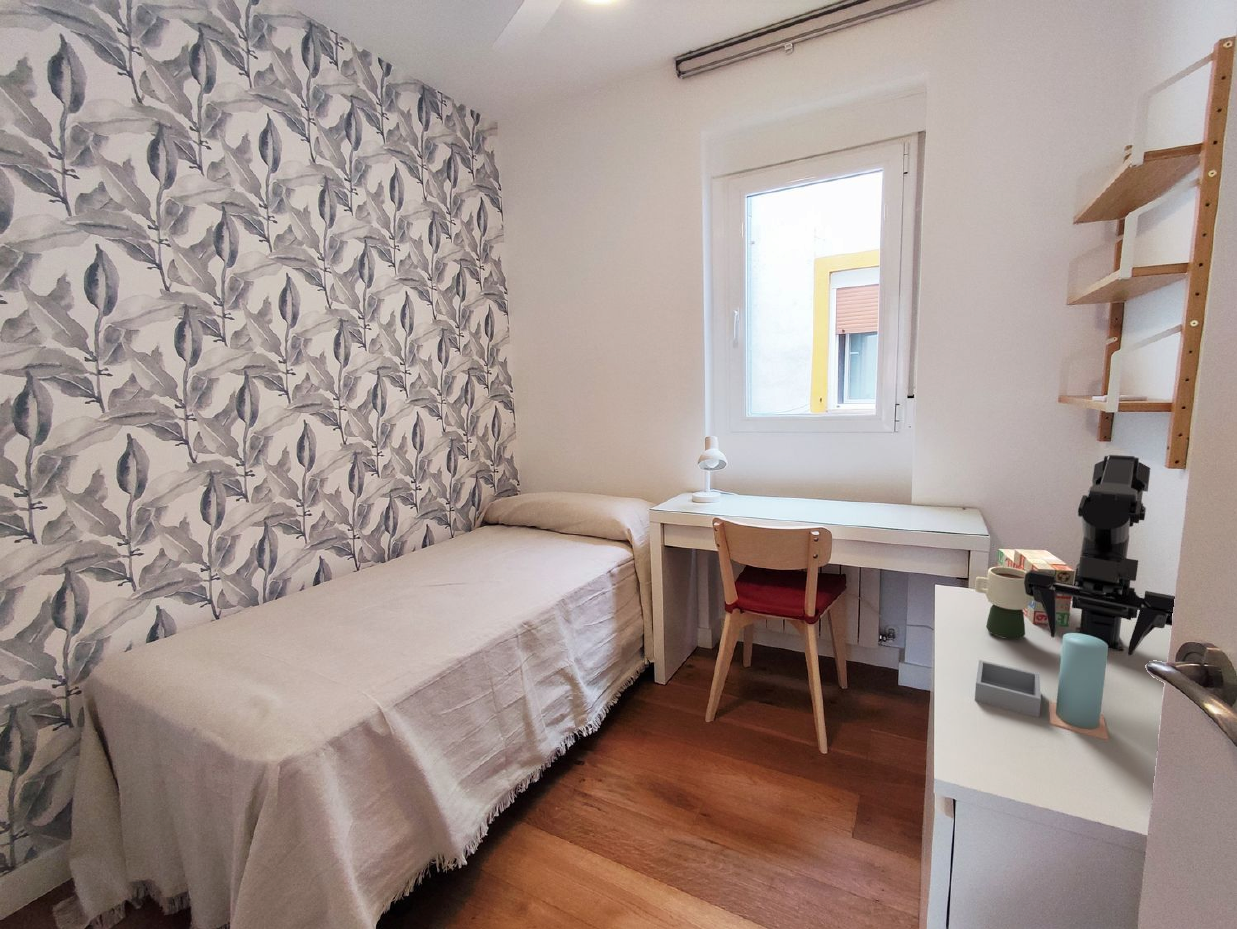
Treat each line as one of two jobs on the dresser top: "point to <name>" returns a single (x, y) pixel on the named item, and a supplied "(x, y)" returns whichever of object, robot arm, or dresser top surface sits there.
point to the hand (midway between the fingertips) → (1089, 645)
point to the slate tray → (1008, 688)
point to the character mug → (1005, 601)
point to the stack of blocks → (1047, 564)
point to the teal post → (1081, 680)
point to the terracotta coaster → (1058, 722)
